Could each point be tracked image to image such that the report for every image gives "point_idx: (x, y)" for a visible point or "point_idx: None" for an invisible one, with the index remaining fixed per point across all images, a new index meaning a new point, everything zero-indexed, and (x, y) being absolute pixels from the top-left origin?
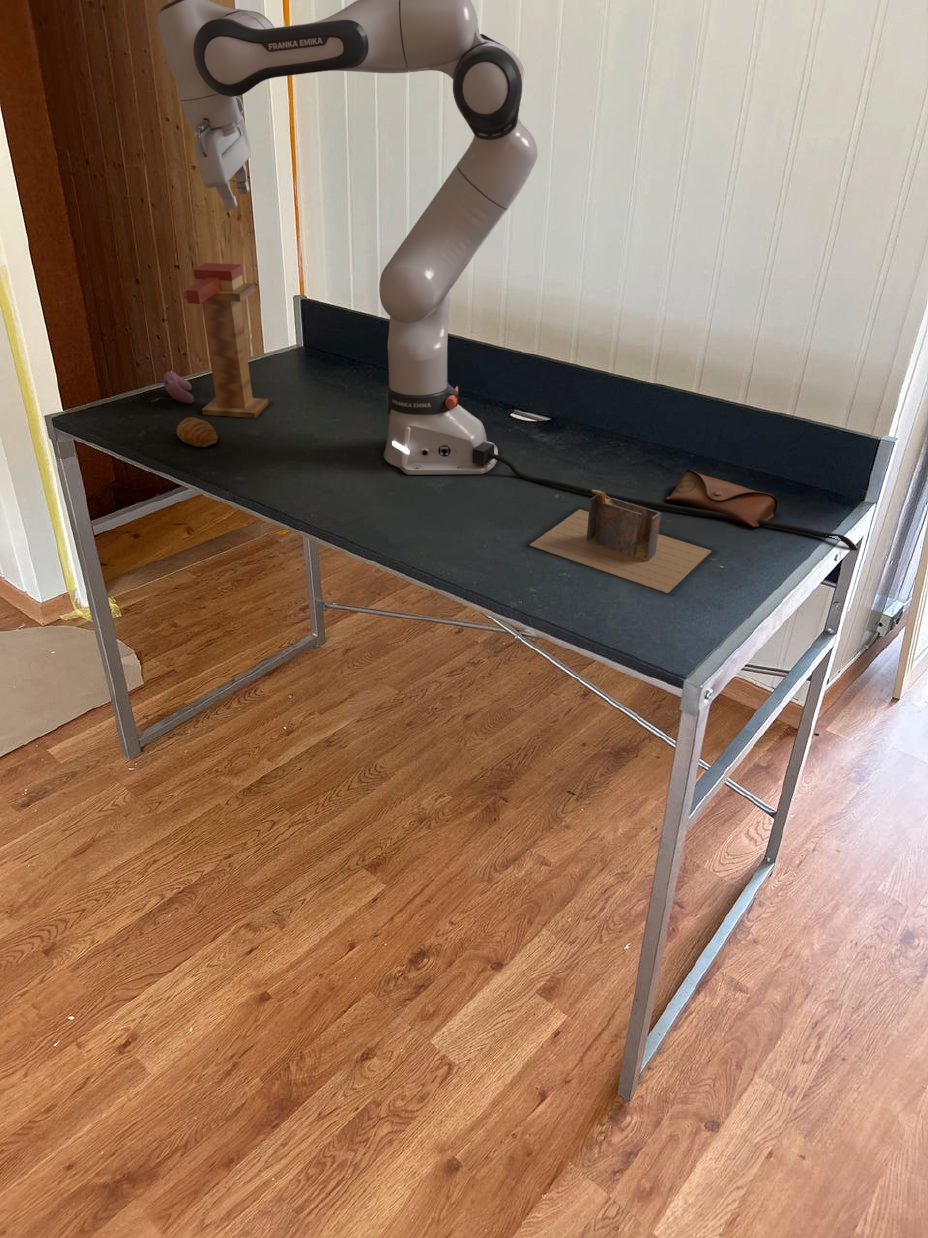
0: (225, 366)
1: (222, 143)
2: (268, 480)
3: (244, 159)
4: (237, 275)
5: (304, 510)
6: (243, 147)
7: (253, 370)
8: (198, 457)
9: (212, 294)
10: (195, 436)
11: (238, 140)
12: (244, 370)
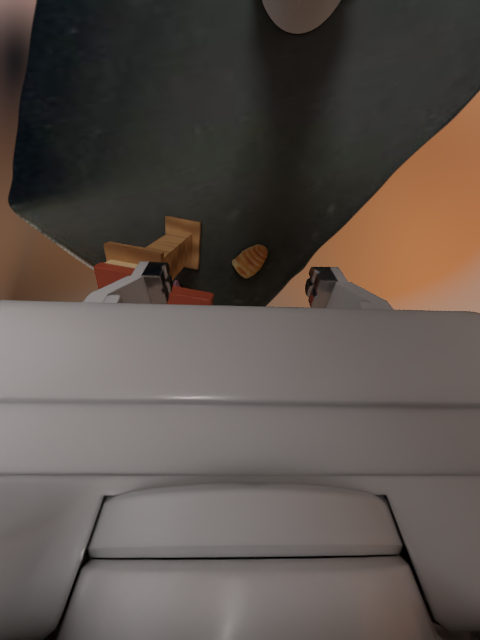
0: (180, 257)
1: (431, 459)
2: (340, 181)
3: (115, 308)
4: (121, 266)
5: (418, 128)
6: (43, 343)
7: (91, 245)
8: (283, 253)
9: (174, 286)
10: (263, 261)
11: (71, 391)
12: (172, 239)
